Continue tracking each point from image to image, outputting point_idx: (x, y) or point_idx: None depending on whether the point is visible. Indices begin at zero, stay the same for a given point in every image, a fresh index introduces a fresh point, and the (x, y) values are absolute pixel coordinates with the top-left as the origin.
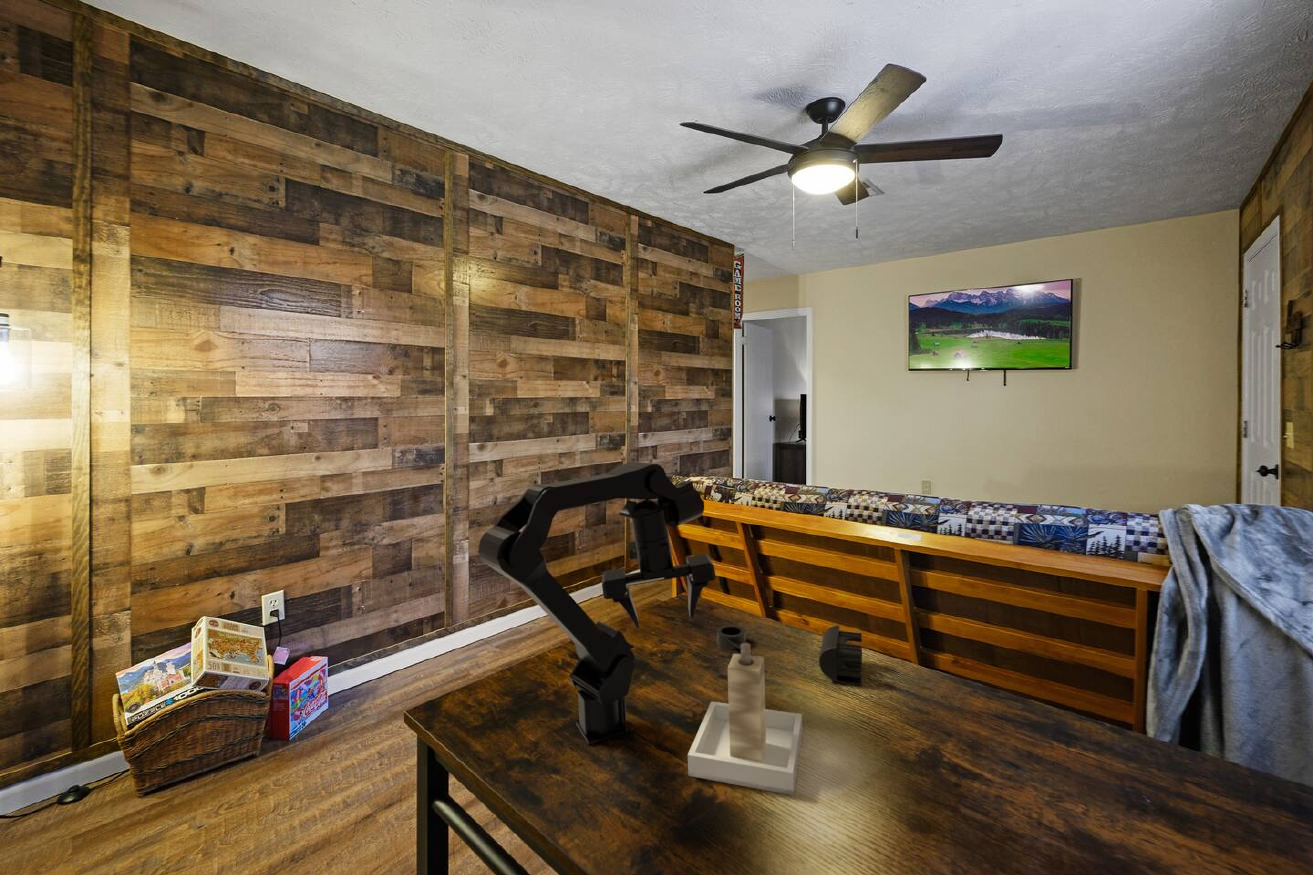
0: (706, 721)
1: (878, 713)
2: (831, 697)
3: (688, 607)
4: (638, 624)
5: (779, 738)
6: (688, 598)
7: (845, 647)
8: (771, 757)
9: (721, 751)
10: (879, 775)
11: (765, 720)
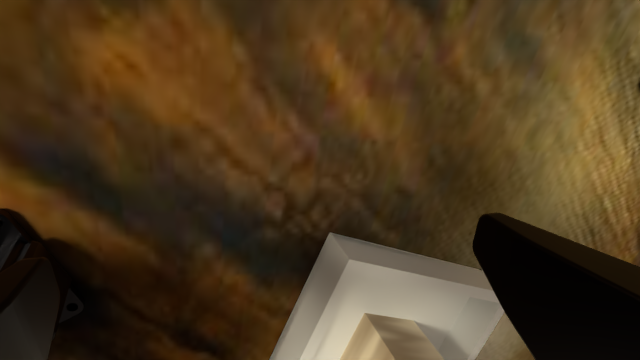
0: (317, 341)
1: (626, 206)
2: (599, 146)
3: (527, 254)
4: (46, 345)
5: (441, 304)
6: (604, 310)
7: None
8: None
9: (324, 355)
10: (525, 354)
11: (441, 356)
